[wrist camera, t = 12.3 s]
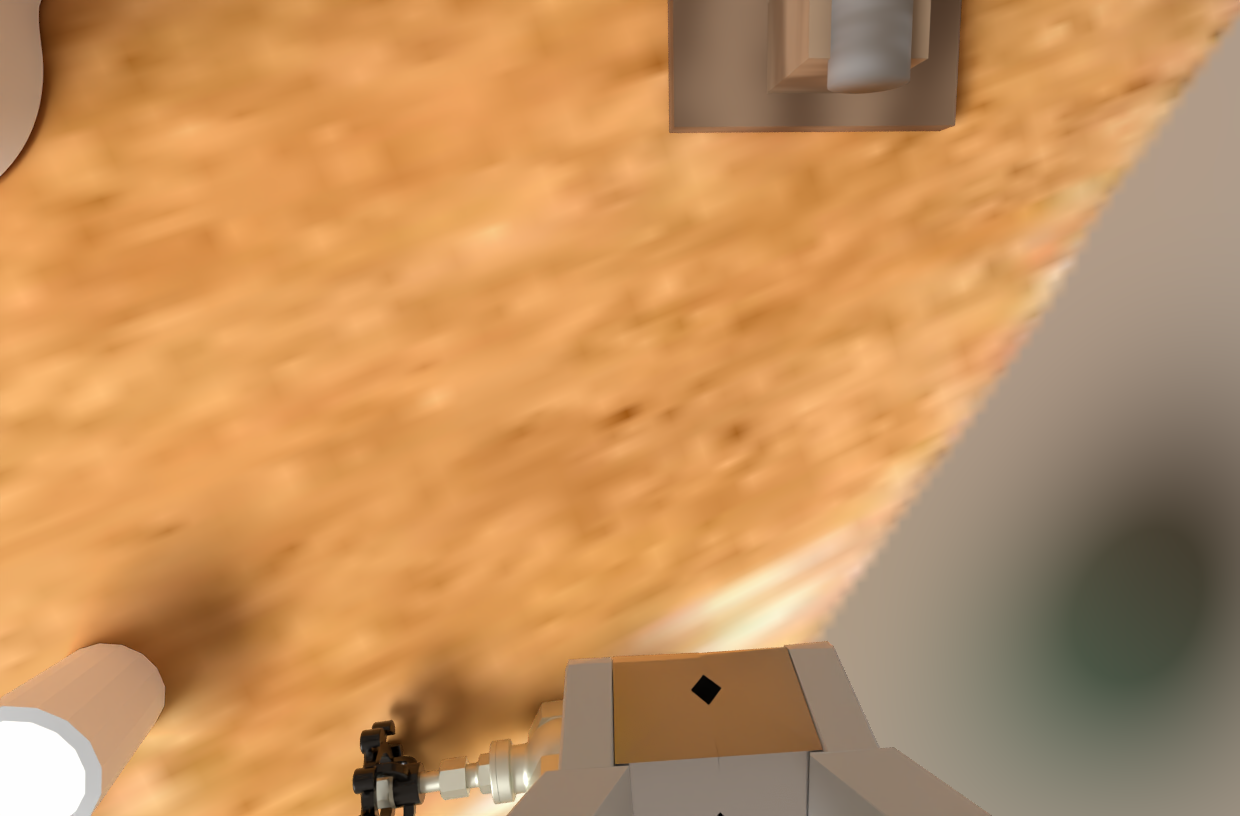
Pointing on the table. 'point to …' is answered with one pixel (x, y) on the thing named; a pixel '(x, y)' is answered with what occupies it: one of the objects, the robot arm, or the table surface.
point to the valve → (455, 767)
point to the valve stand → (812, 65)
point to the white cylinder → (75, 730)
